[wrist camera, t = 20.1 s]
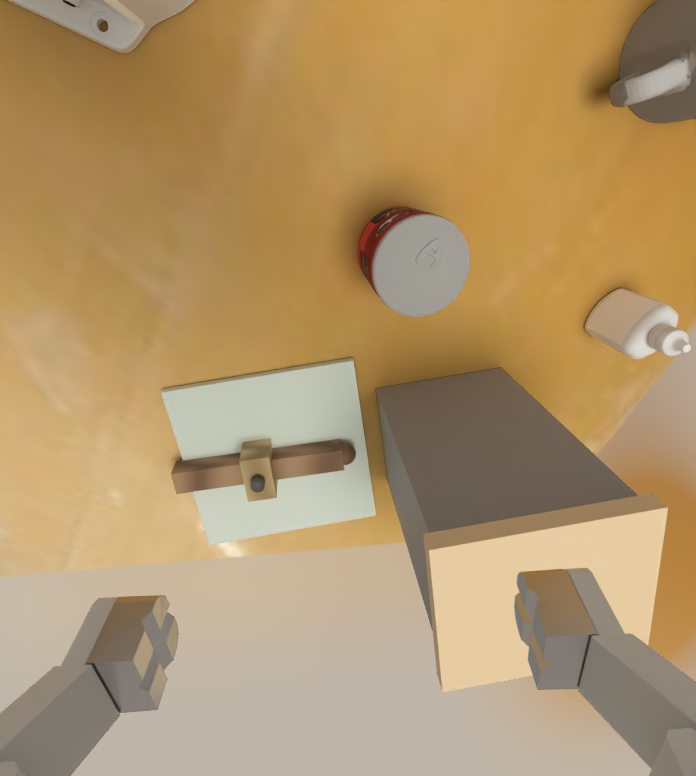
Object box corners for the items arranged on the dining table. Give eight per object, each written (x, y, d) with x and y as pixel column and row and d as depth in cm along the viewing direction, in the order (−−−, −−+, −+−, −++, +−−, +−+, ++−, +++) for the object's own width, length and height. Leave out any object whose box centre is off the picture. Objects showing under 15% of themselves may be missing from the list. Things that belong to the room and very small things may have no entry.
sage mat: (211, 539, 60) (209, 545, 59) (163, 388, 52) (160, 392, 51) (374, 510, 61) (376, 515, 60) (352, 357, 53) (353, 360, 52)
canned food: (446, 219, 48) (486, 230, 38) (418, 298, 51) (449, 328, 41) (371, 194, 46) (392, 200, 36) (347, 277, 49) (359, 304, 39)
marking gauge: (184, 490, 56) (173, 519, 51) (173, 451, 54) (161, 478, 49) (356, 465, 57) (362, 492, 52) (352, 427, 55) (357, 451, 50)
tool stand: (383, 484, 59) (442, 692, 35) (370, 385, 54) (428, 550, 30) (506, 462, 60) (646, 653, 36) (505, 362, 54) (668, 507, 31)
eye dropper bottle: (576, 306, 53) (650, 340, 42) (627, 283, 52) (715, 311, 41) (586, 341, 54) (659, 383, 43) (635, 319, 54) (722, 356, 43)
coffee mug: (731, -22, 42) (850, -77, 33) (723, 107, 46) (828, 91, 37) (578, 19, 43) (655, -24, 33) (583, 144, 47) (654, 137, 37)
